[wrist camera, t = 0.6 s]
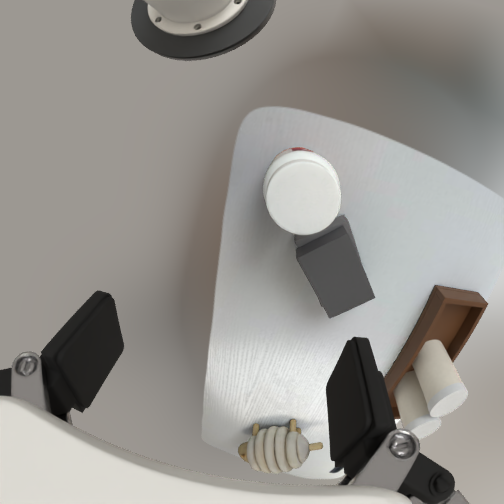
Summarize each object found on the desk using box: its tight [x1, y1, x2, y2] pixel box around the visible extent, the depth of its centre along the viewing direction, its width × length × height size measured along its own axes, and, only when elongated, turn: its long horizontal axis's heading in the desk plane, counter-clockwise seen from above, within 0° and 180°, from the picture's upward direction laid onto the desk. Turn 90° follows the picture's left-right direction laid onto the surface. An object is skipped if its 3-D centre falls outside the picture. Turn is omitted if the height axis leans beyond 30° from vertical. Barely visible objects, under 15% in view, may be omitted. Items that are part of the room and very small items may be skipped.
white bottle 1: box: [412, 340, 468, 417], centre depth 30 cm, size 6×6×11 cm
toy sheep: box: [238, 419, 323, 474], centre depth 42 cm, size 11×17×11 cm, turn 114°
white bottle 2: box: [393, 370, 441, 440], centre depth 33 cm, size 6×6×11 cm
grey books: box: [294, 215, 375, 318], centre depth 29 cm, size 9×6×5 cm
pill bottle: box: [263, 147, 341, 235], centre depth 23 cm, size 6×6×11 cm
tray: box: [384, 285, 488, 419], centre depth 35 cm, size 28×10×3 cm, turn 172°
